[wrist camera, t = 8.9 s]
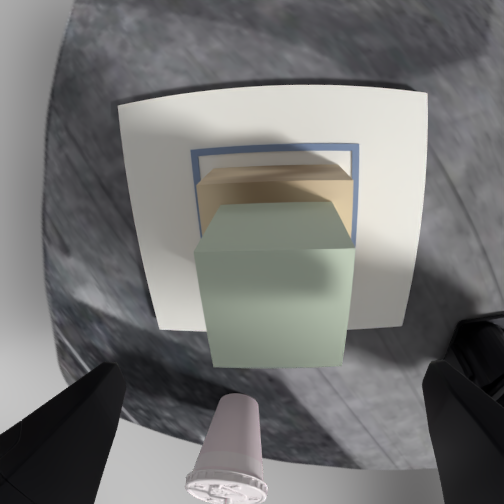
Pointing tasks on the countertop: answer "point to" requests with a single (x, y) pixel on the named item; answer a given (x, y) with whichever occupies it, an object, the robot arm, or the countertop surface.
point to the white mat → (279, 153)
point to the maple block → (276, 188)
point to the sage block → (276, 285)
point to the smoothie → (230, 456)
